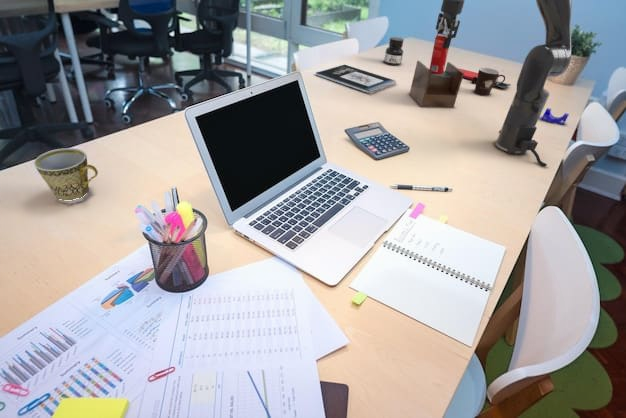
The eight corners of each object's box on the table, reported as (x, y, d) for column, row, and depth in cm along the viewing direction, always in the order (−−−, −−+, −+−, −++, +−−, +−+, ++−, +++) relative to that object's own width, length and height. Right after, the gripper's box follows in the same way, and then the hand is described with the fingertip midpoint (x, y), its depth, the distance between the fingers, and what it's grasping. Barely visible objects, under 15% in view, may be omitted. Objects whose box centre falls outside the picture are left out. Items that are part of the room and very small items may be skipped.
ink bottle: (381, 63, 200) (386, 39, 193) (384, 59, 207) (388, 35, 200) (400, 67, 198) (405, 42, 191) (402, 62, 205) (407, 38, 198)
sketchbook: (344, 67, 191) (344, 62, 190) (396, 84, 176) (397, 80, 175) (315, 75, 177) (315, 70, 176) (369, 94, 162) (370, 90, 161)
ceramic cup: (38, 204, 88) (22, 166, 82) (67, 181, 96) (55, 145, 90) (92, 213, 87) (80, 175, 81) (117, 189, 95) (107, 153, 89)
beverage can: (443, 77, 156) (454, 37, 147) (426, 74, 157) (437, 35, 148) (442, 72, 161) (453, 34, 152) (426, 70, 162) (436, 31, 153)
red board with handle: (504, 91, 179) (512, 84, 190) (507, 85, 178) (514, 78, 188) (442, 75, 193) (453, 70, 203) (444, 69, 191) (454, 64, 201)
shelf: (453, 107, 158) (464, 73, 150) (421, 106, 156) (430, 71, 148) (439, 94, 169) (449, 62, 161) (409, 94, 167) (417, 60, 159)
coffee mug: (470, 93, 174) (477, 70, 168) (473, 88, 180) (480, 66, 174) (497, 99, 170) (505, 76, 164) (499, 94, 177) (507, 72, 171)
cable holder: (541, 119, 155) (545, 110, 153) (543, 117, 158) (547, 108, 155) (562, 126, 152) (567, 116, 149) (564, 123, 154) (569, 114, 152)
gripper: (437, -6, 148) (426, 40, 158) (452, 1, 137) (440, 50, 147) (455, -5, 149) (443, 41, 159) (472, 2, 138) (458, 51, 148)
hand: (441, 45), depth 153 cm, fingers open, 7 cm apart
